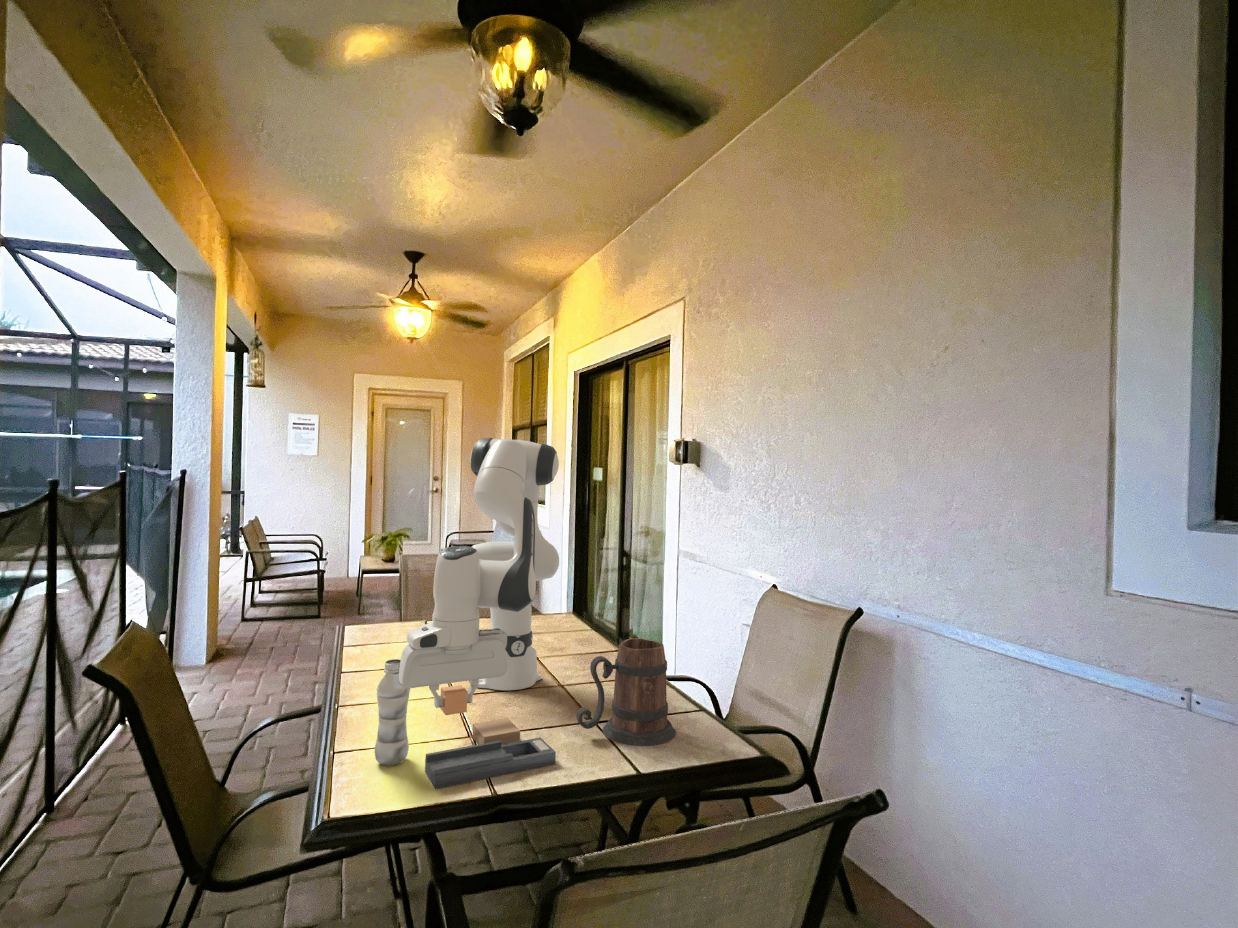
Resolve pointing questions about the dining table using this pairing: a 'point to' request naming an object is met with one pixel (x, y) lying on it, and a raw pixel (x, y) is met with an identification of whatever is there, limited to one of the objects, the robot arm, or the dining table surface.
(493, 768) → the grey slotted tray
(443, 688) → the peach foam cube
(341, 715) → the dining table surface
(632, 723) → the tankard
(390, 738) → the plastic bottle
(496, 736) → the brown square plate
